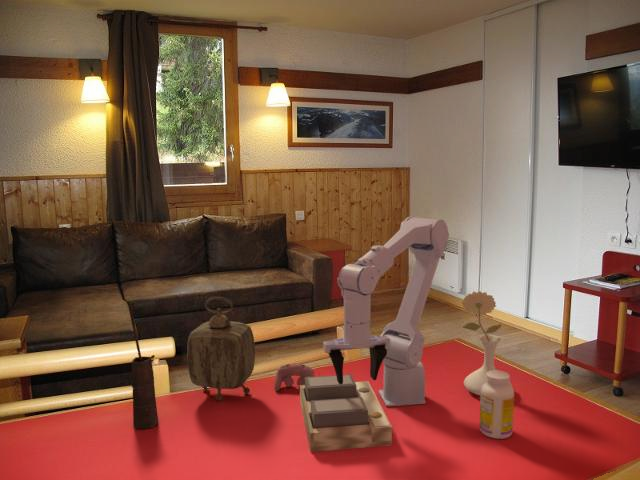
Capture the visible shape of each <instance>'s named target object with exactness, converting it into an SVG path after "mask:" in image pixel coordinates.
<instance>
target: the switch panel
mask: <svg viewBox="0 0 640 480" xmlns="http://www.w3.org/2000/svg"><path fill="white" fill-rule="evenodd" d="M355 383H356V397H362V398H363V401H364V403H365V405H366V407H367V409H368V425H356V426H342V427H329V428H315V429H314V427H313V423H312V419H311V401H307V398H306V394H305V385H300V387H299V402H300V408H301V409H300V410H301V412H302V417H303V418H302V419H303V422H304V426H305V427H304V428H305V430H306V436H307V441H308V447H309V451H310V453H314V452H325V451H327V452H328V451H339V450H350V449H352V450H353V449H362V448H363V449H364V448H374V447H375V448H376V447H386V446H387V447H388V446H393V425H392V424H391V422H390V421H389V419H388V417H387V415H386V412H385V411H384V409H383V407H382V405H381V403H380V401H379V399H378V398H377V395H376V393H375V391H374V389H373V387H372V386H371V384H370V382H369V380H365V381H364V380H363V381H355Z"/></svg>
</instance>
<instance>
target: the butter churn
mask: <svg viewBox="0 0 640 480" xmlns="http://www.w3.org/2000/svg"><path fill="white" fill-rule="evenodd" d="M127 304H128V310H129V316H130V320H131V325H132V330H133V335H134V340H135V345H136V349H137V356H135V357H134V358H133V359H132V361H131V388H132V420H133V421H132V423H133V427H134V428H135V429H137V430H146V429H148V428H153V427H155V426H156V425H157V424H158V423H159V417H158V416H159V415H158V407H157V401H156V399H157V398H156V390H155V389H156V388H155V375H154V374H155V373H154V370H153V360H152V359H154V358H155V357H156V356H155V355H154V354H153V355H151V356H142V354H141V350H140V349H141V348H140V344H139V343H140V342H139V340H138V339H139V338H138V333H137V330H136V329H137V328H136V323H135V317H134V314H133V313H134V312H133V309H132V305H131V301H130V300H127Z"/></svg>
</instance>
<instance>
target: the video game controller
mask: <svg viewBox="0 0 640 480" xmlns="http://www.w3.org/2000/svg"><path fill="white" fill-rule="evenodd" d="M293 376H295V377H296V376H297V377H298V378H297V380H296V385H297V387H299V388H300V385H305V377H315V371H314V370H313V368H312V367H310V366H308V365H305V364H302V363H288V364H283V365H281V366H280V367H279V368H278V369H277V371H276V374H275V378H274V390H275V392H279V390H280V389H281V386H282V384H283V383H284V385H285V386H286V387H292V386H294V383H295V381H294V378H293Z"/></svg>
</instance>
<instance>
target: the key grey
mask: <svg viewBox="0 0 640 480" xmlns="http://www.w3.org/2000/svg"><path fill="white" fill-rule="evenodd" d="M355 382H356V381H355V378H354V377H353V374H352V373H351V374H348V373H347V374H343V384H339V383H338V381H337V376H336V374H333V375H332V374H331V375H320V376H319V375H316V376H315V375H314V377H305V394H306V398H307V401H312V400H327V399H342V398H356V383H355Z"/></svg>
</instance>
